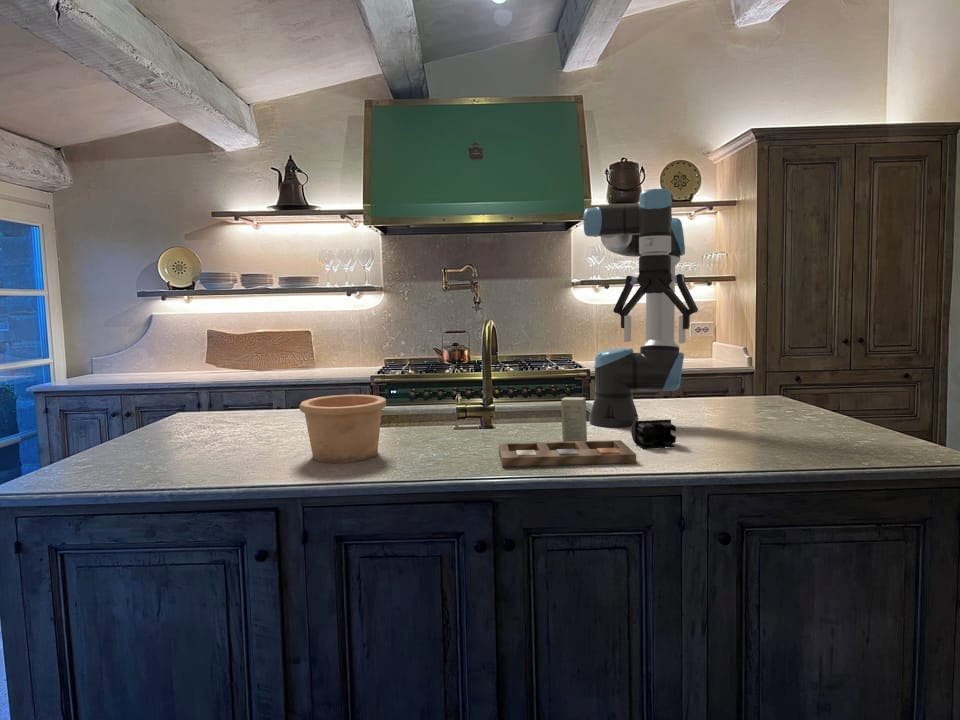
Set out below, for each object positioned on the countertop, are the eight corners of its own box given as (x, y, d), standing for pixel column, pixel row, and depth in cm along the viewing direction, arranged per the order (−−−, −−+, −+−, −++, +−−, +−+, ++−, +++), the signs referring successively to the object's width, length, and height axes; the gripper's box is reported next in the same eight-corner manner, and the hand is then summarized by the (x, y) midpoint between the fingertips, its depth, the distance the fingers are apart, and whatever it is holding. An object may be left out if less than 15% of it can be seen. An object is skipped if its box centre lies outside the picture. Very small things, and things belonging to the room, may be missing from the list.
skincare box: (587, 440, 179) (587, 397, 178) (584, 444, 175) (584, 399, 174) (564, 439, 181) (564, 396, 180) (561, 442, 177) (560, 398, 176)
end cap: (666, 441, 176) (666, 417, 175) (677, 447, 169) (677, 422, 168) (631, 443, 175) (631, 419, 174) (640, 449, 168) (640, 424, 167)
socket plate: (502, 467, 152) (502, 456, 152) (498, 452, 167) (498, 441, 167) (636, 464, 153) (636, 452, 153) (620, 449, 168) (620, 438, 168)
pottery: (315, 446, 179) (313, 395, 177) (394, 445, 178) (392, 393, 177) (290, 466, 157) (287, 408, 156) (379, 465, 156) (377, 407, 155)
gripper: (600, 256, 159) (600, 342, 162) (703, 251, 146) (702, 344, 148) (612, 258, 166) (612, 340, 168) (711, 252, 152) (710, 342, 154)
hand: (654, 342), depth 158 cm, fingers open, 13 cm apart
